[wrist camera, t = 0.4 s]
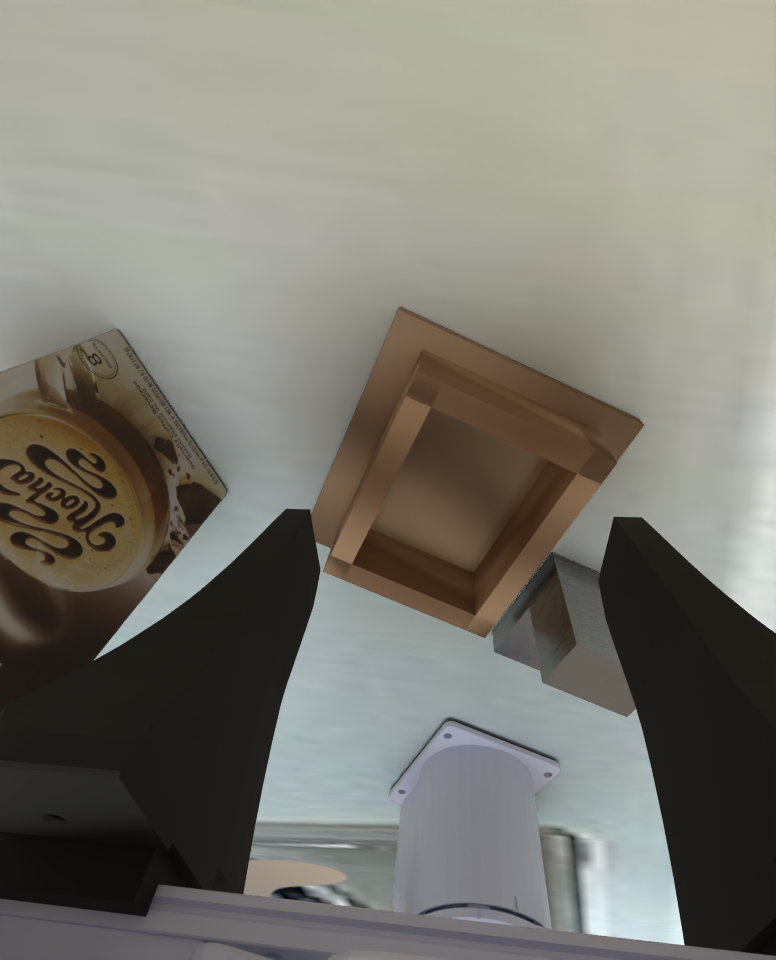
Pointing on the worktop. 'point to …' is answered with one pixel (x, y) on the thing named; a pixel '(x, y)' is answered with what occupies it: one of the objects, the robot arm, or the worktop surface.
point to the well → (460, 474)
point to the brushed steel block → (566, 635)
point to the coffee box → (87, 504)
